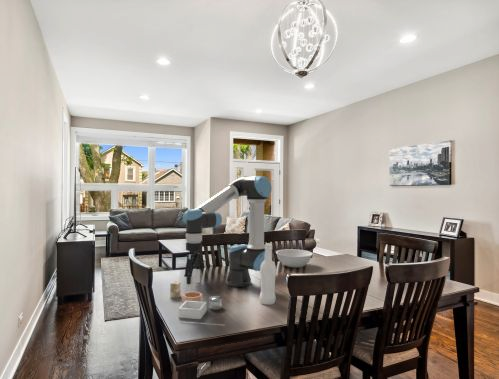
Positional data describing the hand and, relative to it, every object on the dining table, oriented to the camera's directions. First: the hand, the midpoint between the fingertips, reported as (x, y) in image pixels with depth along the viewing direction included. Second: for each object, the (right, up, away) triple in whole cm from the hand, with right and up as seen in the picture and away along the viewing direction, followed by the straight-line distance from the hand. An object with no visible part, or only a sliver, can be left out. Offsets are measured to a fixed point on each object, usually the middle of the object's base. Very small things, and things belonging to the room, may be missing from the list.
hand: (193, 286), depth 160 cm
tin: (+10, -11, +1) cm, 15 cm away
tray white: (+1, -11, -8) cm, 14 cm away
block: (-12, -10, +15) cm, 22 cm away
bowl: (+60, -11, +89) cm, 108 cm away
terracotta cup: (-1, -11, +5) cm, 12 cm away
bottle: (+36, -11, +11) cm, 39 cm away
